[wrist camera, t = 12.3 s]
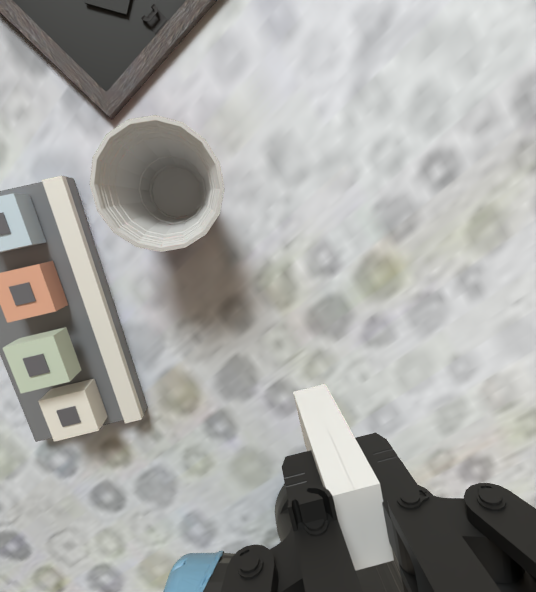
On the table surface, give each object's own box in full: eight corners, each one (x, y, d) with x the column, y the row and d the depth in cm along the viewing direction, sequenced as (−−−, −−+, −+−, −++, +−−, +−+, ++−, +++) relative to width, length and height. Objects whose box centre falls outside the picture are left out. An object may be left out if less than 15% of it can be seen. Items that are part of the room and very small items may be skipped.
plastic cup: (153, 256, 44) (124, 271, 32) (111, 164, 42) (63, 144, 30) (241, 222, 44) (244, 224, 32) (204, 128, 42) (192, 94, 30)
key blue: (46, 242, 41) (31, 244, 37) (-1, 253, 40) (-20, 256, 37) (29, 194, 39) (12, 193, 36) (-19, 205, 39) (-41, 204, 36)
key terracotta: (68, 304, 42) (55, 311, 39) (23, 315, 42) (6, 323, 39) (52, 260, 41) (38, 264, 38) (6, 271, 41) (-13, 275, 38)
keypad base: (147, 406, 48) (141, 419, 45) (43, 432, 47) (31, 446, 44) (73, 178, 41) (61, 175, 39) (-47, 205, 41) (-69, 204, 38)
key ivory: (107, 416, 45) (98, 431, 42) (65, 427, 45) (53, 442, 42) (94, 378, 44) (83, 390, 41) (51, 388, 44) (37, 402, 41)
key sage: (81, 370, 42) (69, 382, 38) (35, 380, 41) (19, 394, 38) (66, 327, 40) (52, 336, 37) (19, 338, 40) (1, 348, 37)
